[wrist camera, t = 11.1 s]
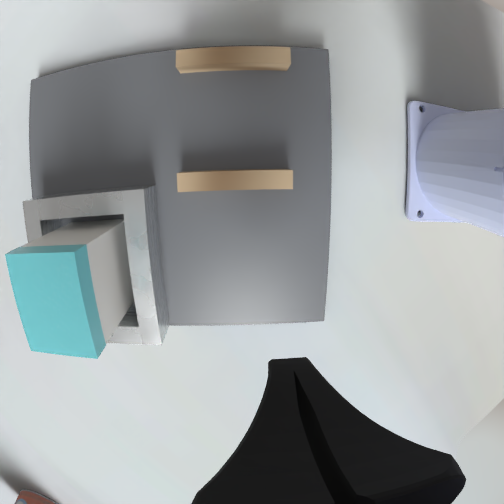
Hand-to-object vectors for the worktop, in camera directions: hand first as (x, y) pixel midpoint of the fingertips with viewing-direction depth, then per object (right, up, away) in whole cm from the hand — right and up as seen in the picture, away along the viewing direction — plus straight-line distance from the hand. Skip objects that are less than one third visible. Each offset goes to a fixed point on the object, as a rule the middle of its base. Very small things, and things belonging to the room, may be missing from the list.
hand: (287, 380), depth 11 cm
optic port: (-11, +4, +8) cm, 14 cm away
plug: (-11, +4, +8) cm, 14 cm away
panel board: (-6, +8, +8) cm, 13 cm away
